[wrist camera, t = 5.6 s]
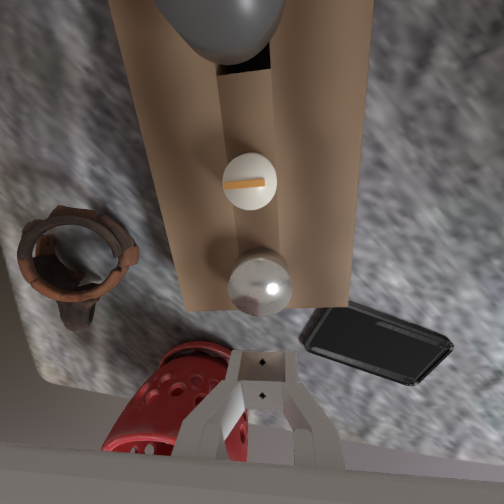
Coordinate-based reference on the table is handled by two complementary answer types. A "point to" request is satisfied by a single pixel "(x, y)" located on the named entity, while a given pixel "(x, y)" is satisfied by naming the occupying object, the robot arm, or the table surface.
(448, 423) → the table surface
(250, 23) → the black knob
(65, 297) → the brown open round fixture
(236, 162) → the dial
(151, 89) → the mount
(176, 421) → the plant pot
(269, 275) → the silver knob
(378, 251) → the table surface
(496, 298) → the table surface
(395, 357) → the phone
